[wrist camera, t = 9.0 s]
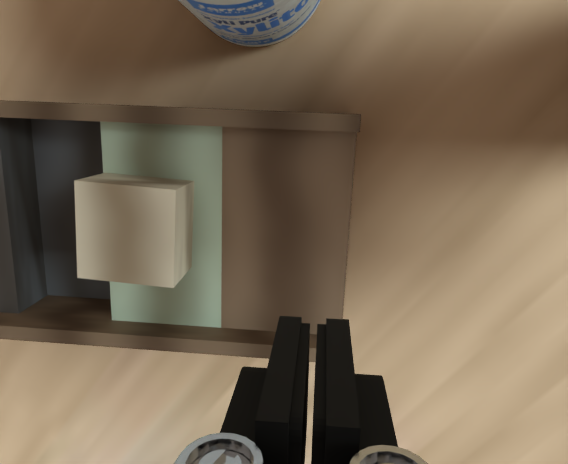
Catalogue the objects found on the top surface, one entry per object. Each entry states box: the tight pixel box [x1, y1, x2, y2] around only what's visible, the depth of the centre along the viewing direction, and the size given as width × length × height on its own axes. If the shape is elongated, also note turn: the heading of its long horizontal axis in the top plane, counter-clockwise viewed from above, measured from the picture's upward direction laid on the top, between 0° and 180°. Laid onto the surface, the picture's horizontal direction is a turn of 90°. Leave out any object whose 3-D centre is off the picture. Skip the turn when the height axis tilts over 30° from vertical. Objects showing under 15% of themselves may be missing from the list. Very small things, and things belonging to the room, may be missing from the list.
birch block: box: [74, 173, 194, 288], centre depth 29 cm, size 6×6×4 cm
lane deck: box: [0, 100, 361, 362], centre depth 32 cm, size 25×16×6 cm, turn 88°
